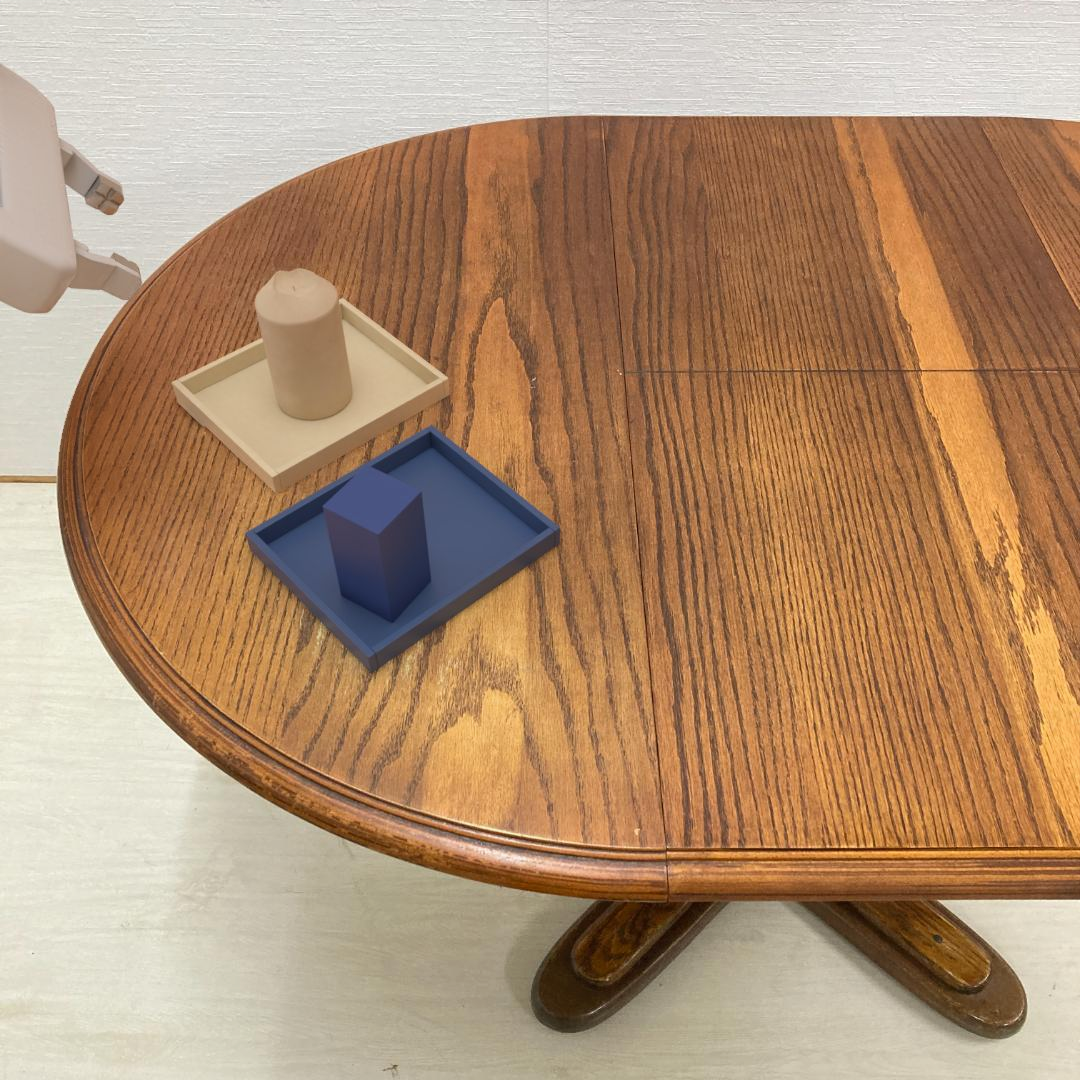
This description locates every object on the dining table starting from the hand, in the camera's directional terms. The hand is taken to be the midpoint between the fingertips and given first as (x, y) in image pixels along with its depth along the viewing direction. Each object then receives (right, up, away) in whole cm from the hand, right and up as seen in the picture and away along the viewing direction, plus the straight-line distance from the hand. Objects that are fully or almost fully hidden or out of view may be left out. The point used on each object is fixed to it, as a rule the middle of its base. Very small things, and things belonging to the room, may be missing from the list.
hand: (126, 241), depth 67 cm
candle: (+9, -8, +14) cm, 18 cm away
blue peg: (+15, -21, +2) cm, 26 cm away
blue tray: (+16, -19, +4) cm, 25 cm away
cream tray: (+8, -8, +14) cm, 18 cm away
